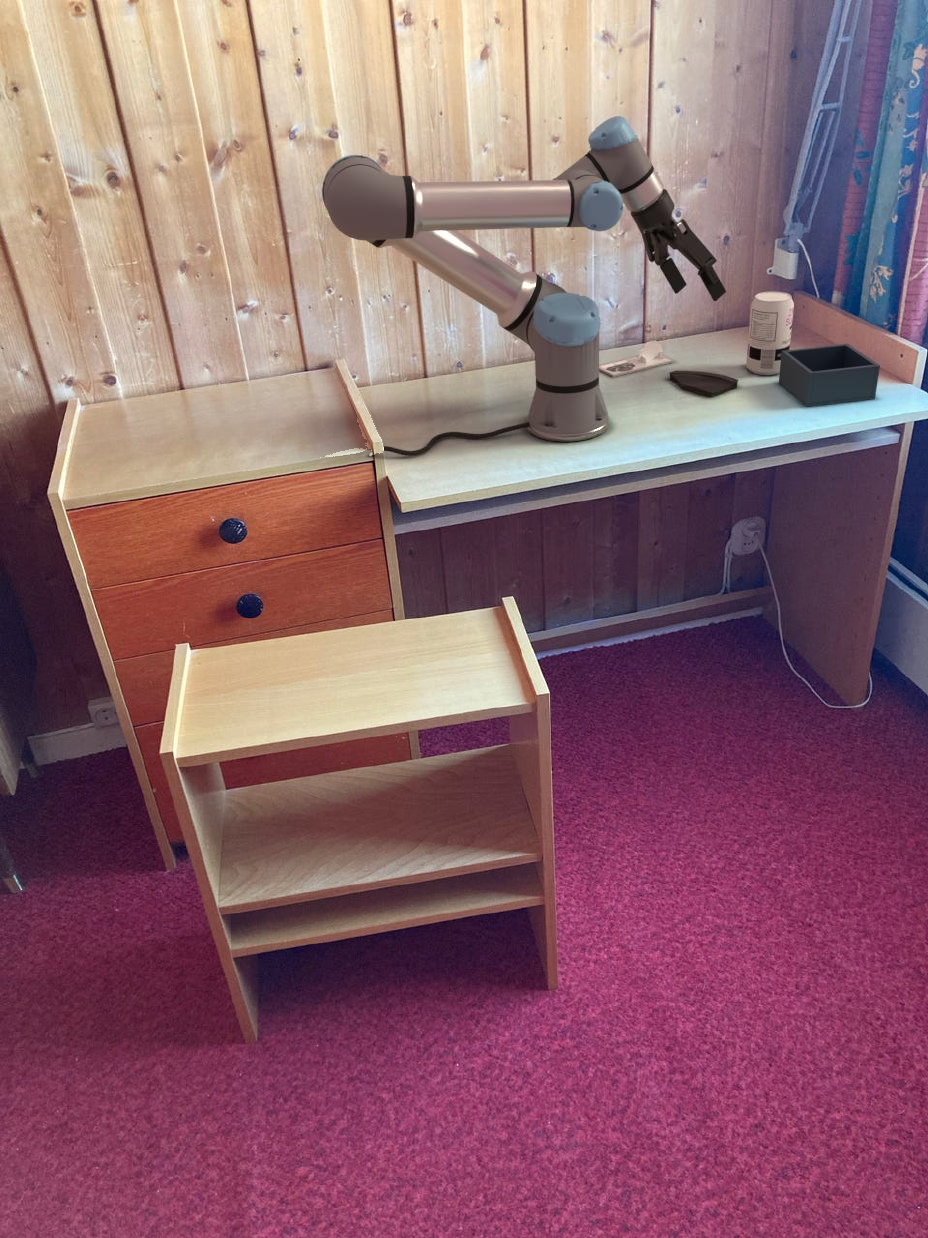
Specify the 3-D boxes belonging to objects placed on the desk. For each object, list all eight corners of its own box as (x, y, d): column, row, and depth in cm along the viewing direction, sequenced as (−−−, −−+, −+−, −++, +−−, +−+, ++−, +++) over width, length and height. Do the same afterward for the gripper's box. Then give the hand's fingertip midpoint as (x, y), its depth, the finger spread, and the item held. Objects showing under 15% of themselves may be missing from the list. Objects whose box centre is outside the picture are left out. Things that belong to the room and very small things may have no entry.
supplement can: (740, 364, 219) (746, 292, 211) (778, 361, 219) (785, 288, 211) (753, 377, 212) (760, 303, 204) (793, 373, 213) (801, 299, 205)
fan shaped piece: (689, 371, 218) (690, 364, 217) (740, 387, 208) (740, 379, 207) (661, 381, 214) (661, 373, 213) (710, 398, 204) (711, 390, 203)
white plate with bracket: (653, 354, 228) (654, 333, 226) (672, 362, 223) (673, 341, 221) (596, 368, 223) (596, 347, 220) (613, 377, 218) (613, 355, 215)
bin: (806, 406, 197) (810, 373, 194) (778, 383, 209) (781, 350, 205) (875, 399, 198) (880, 365, 195) (843, 375, 210) (847, 343, 206)
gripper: (700, 187, 180) (752, 285, 191) (628, 185, 202) (679, 273, 213) (668, 216, 180) (722, 313, 191) (599, 211, 201) (652, 298, 212)
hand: (700, 292), depth 202 cm, fingers open, 13 cm apart
